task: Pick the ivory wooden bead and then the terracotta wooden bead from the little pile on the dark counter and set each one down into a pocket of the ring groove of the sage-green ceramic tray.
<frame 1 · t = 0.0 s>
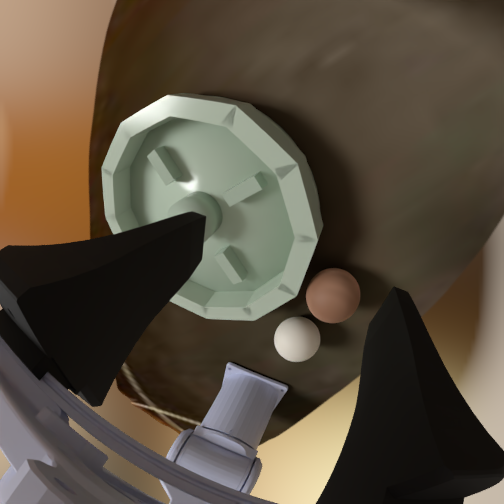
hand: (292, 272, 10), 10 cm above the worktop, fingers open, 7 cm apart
tray: (206, 208, 23), on the worktop
ivory bead: (302, 323, 25), on the worktop
terracotta bead: (336, 279, 21), on the worktop
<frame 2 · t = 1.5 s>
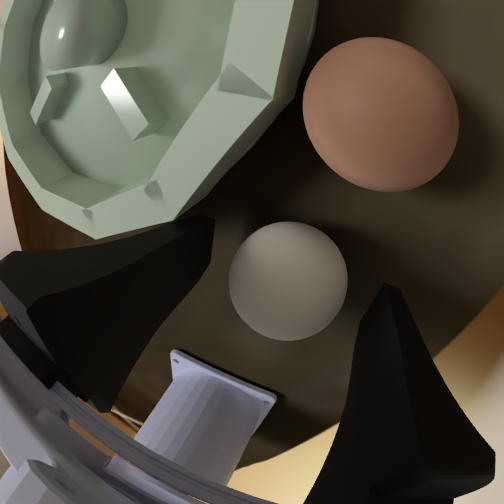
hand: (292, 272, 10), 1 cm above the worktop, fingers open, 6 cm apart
tray: (112, 29, 8), on the worktop
ivory bead: (301, 251, 11), on the worktop
terracotta bead: (377, 109, 7), on the worktop
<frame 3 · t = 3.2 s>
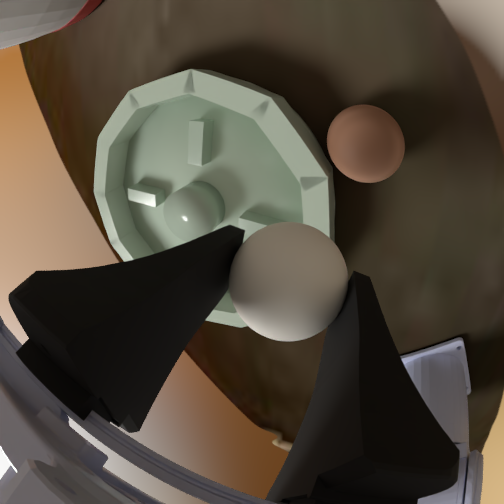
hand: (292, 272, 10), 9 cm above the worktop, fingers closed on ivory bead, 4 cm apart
tray: (208, 201, 20), on the worktop
ivory bead: (302, 251, 11), point 7 cm above the worktop, touching gripper
terracotta bead: (365, 138, 14), on the worktop
when the fingers open (4 cm above the worktop, at t = 4.6 s): ivory bead drops 2 cm, resting on tray.
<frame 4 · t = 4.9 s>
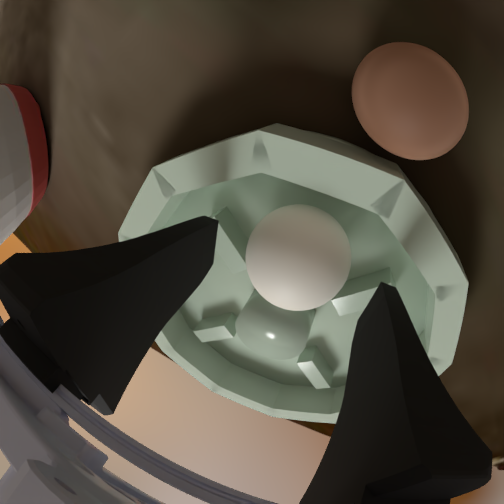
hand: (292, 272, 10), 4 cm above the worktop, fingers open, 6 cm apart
tray: (286, 297, 16), on the worktop
ivory bead: (308, 233, 12), point 1 cm above the worktop, touching tray
citrus juicer: (27, 152, 19), on the worktop
terracotta bead: (402, 99, 9), on the worktop
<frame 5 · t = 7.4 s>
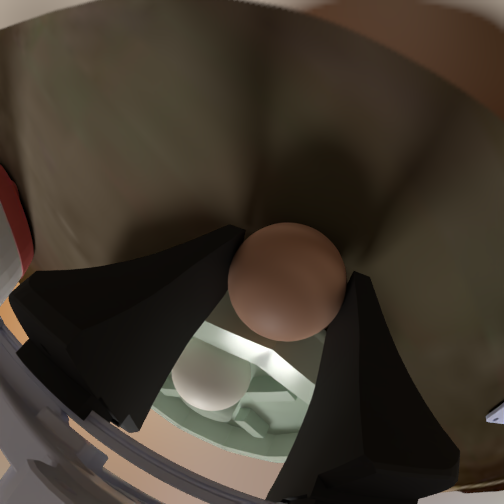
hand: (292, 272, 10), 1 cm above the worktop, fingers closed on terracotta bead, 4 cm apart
tray: (224, 373, 18), on the worktop
ivory bead: (226, 344, 15), point 1 cm above the worktop, touching tray
citrus juicer: (13, 217, 22), on the worktop
terracotta bead: (300, 252, 11), on the worktop, touching gripper
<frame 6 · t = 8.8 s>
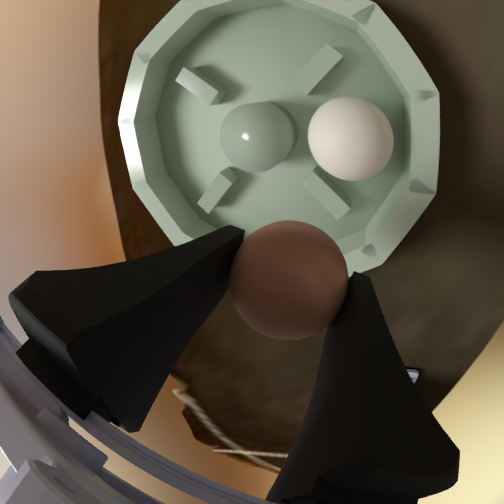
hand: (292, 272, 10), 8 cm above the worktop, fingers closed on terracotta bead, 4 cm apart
tray: (270, 130, 16), on the worktop
ivory bead: (352, 131, 13), point 1 cm above the worktop, touching tray
terracotta bead: (302, 250, 11), point 7 cm above the worktop, touching gripper
when the fingers open (4 cm above the worktop, at t = 10.2 s): terracotta bead drops 1 cm, resting on tray.
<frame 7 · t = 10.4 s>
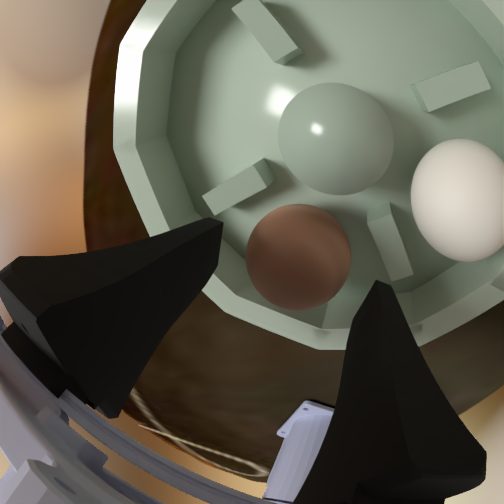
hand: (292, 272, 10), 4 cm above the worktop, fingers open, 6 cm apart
tray: (341, 129, 10), on the worktop
ivory bead: (451, 179, 9), point 1 cm above the worktop, touching tray
terracotta bead: (309, 233, 12), point 1 cm above the worktop, touching tray
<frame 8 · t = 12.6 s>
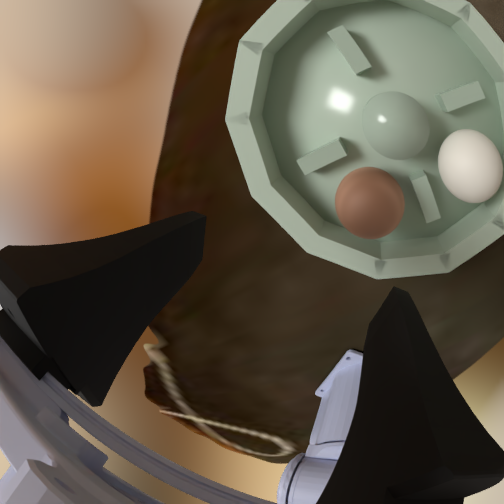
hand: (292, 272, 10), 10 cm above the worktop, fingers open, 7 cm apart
tray: (390, 121, 14), on the worktop
ivory bead: (461, 155, 12), point 1 cm above the worktop, tilted 5°, touching tray
terracotta bead: (368, 191, 16), point 1 cm above the worktop, touching tray
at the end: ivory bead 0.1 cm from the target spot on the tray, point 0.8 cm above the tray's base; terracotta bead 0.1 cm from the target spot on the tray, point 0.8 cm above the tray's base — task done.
